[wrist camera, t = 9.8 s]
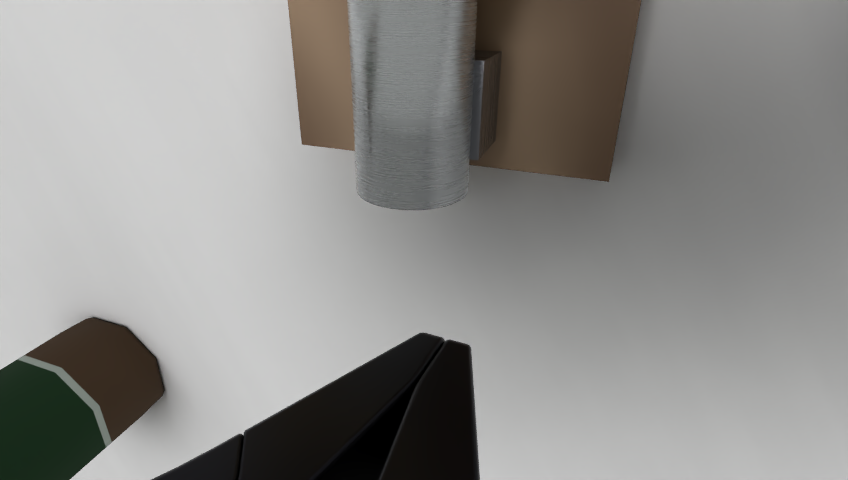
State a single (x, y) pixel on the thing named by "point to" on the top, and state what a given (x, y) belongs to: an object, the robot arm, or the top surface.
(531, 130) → the valve base
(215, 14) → the top surface
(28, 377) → the beer bottle
